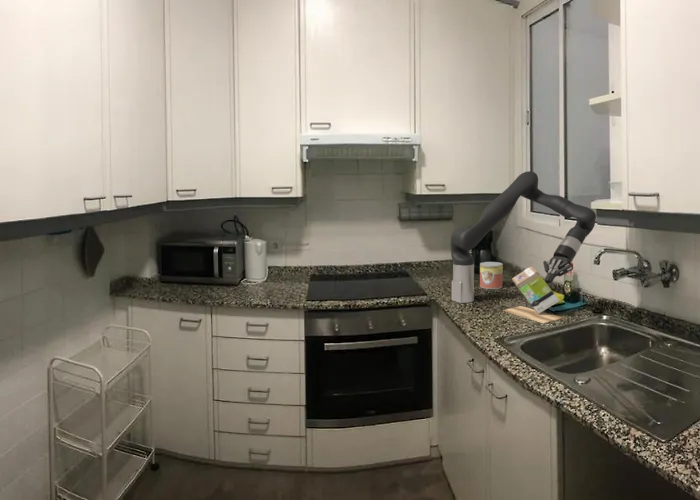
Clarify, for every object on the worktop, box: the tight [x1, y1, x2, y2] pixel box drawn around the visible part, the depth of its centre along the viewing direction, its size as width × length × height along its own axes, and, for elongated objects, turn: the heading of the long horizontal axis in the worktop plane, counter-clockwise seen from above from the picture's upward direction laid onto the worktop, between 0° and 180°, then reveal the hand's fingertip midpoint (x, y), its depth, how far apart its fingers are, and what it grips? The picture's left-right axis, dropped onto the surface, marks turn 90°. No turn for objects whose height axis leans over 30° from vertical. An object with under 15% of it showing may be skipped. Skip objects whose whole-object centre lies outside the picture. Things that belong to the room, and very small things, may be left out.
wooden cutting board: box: [502, 305, 564, 324], centre depth 174 cm, size 11×20×1 cm, turn 28°
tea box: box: [511, 265, 560, 314], centre depth 178 cm, size 15×10×15 cm
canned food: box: [479, 261, 504, 290], centre depth 222 cm, size 11×11×12 cm
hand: (547, 282), depth 176 cm, fingers closed
